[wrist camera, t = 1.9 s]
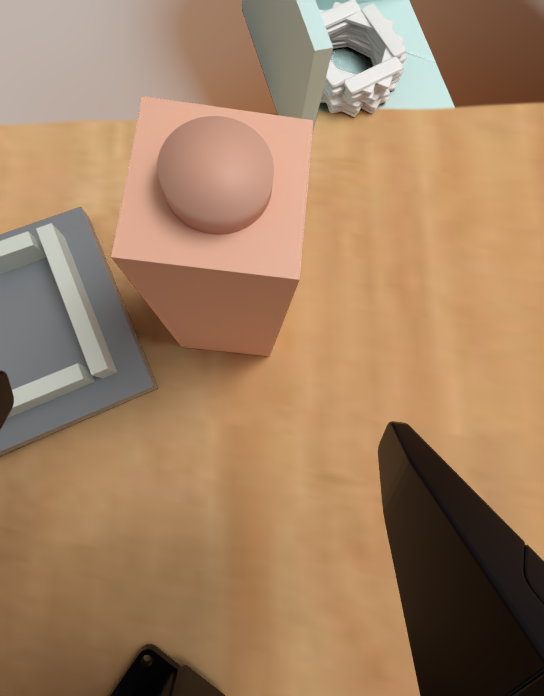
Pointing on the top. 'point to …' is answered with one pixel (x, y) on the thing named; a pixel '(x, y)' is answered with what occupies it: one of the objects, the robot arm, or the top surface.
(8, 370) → the socket plate
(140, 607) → the top surface
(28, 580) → the top surface
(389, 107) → the l-shaped corner panel
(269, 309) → the pillar
